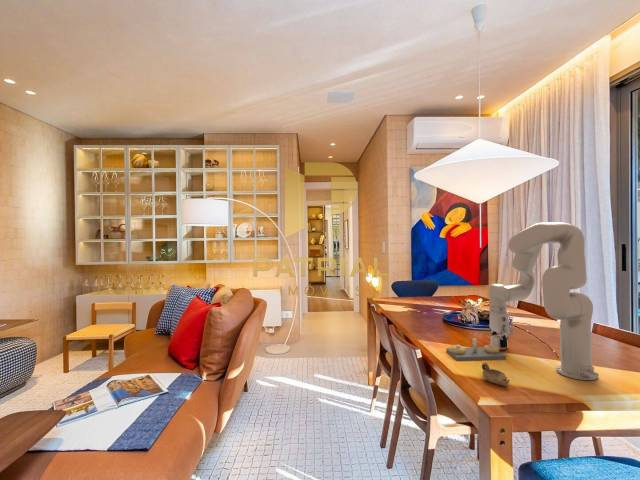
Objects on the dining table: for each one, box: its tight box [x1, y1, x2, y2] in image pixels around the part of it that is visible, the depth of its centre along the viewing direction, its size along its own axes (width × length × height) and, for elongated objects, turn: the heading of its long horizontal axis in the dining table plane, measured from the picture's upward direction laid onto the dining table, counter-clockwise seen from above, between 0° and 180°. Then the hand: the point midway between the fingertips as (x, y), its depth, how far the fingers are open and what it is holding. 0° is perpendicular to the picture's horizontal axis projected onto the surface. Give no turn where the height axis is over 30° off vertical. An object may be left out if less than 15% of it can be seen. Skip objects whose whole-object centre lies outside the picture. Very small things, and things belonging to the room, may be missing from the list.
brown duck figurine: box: [481, 362, 510, 387], centre depth 122 cm, size 13×8×5 cm, turn 5°
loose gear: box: [490, 334, 509, 350], centre depth 158 cm, size 7×7×5 cm
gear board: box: [446, 338, 507, 362], centre depth 148 cm, size 12×22×8 cm, turn 89°
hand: (499, 344), depth 158 cm, fingers closed on loose gear, 7 cm apart
